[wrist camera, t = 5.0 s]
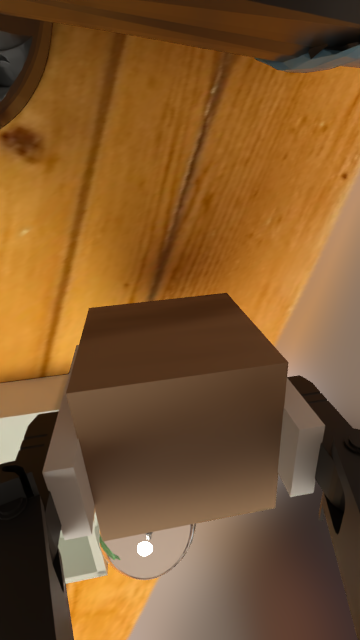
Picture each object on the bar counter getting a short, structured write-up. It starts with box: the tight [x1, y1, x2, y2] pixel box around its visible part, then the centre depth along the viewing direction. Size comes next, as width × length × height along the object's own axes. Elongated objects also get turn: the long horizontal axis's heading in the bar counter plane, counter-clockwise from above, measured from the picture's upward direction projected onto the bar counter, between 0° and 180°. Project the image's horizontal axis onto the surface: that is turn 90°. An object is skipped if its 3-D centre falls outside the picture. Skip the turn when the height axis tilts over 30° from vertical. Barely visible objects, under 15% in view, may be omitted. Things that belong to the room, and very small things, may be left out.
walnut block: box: [66, 293, 288, 541], centre depth 13 cm, size 6×6×6 cm
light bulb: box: [94, 512, 196, 580], centre depth 24 cm, size 7×7×12 cm
